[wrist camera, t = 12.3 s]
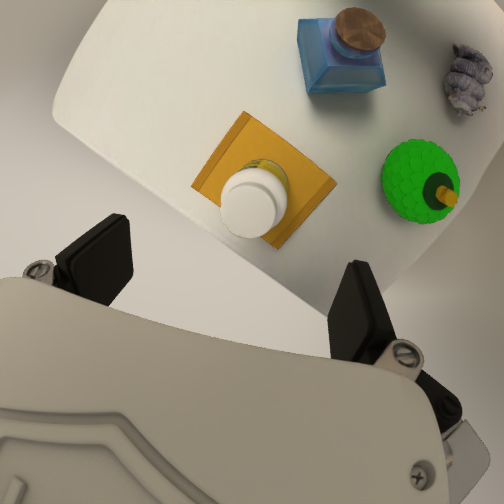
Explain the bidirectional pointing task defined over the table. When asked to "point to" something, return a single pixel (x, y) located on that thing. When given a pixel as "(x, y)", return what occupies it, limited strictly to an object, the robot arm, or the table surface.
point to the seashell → (467, 79)
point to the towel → (275, 149)
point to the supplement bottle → (254, 198)
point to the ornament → (420, 181)
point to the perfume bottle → (342, 52)
